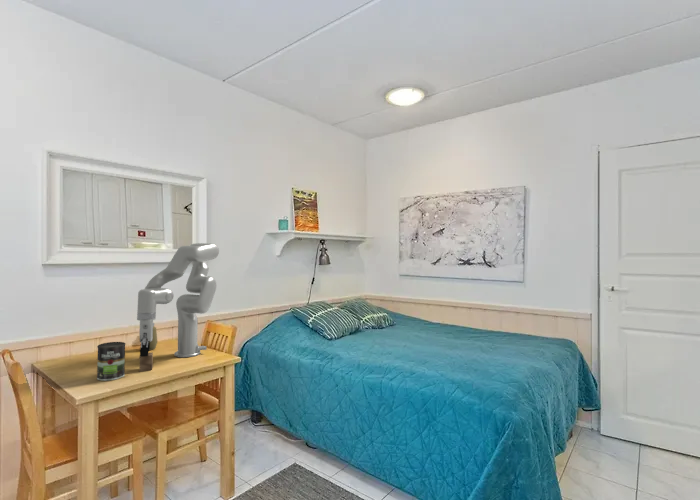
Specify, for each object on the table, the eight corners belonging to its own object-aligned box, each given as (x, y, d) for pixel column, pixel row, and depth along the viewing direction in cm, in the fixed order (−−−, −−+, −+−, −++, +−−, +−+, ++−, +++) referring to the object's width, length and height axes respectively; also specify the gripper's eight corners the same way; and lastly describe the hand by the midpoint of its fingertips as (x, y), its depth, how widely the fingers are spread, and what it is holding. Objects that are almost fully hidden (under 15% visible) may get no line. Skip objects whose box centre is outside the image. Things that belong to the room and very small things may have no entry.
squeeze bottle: (144, 347, 214) (145, 315, 214) (159, 347, 215) (160, 315, 215) (138, 351, 206) (138, 318, 206) (153, 351, 207) (154, 318, 207)
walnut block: (152, 367, 180) (152, 352, 180) (151, 370, 175) (152, 355, 175) (140, 368, 178) (140, 353, 178) (139, 371, 173) (139, 356, 173)
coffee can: (124, 378, 163) (124, 345, 163) (95, 382, 159) (95, 348, 159) (125, 371, 173) (126, 340, 173) (98, 375, 168) (98, 342, 168)
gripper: (154, 318, 170) (152, 357, 169) (156, 313, 186) (154, 349, 185) (135, 319, 167) (133, 358, 166) (138, 314, 183) (137, 350, 182)
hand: (144, 353), depth 176 cm, fingers open, 9 cm apart
